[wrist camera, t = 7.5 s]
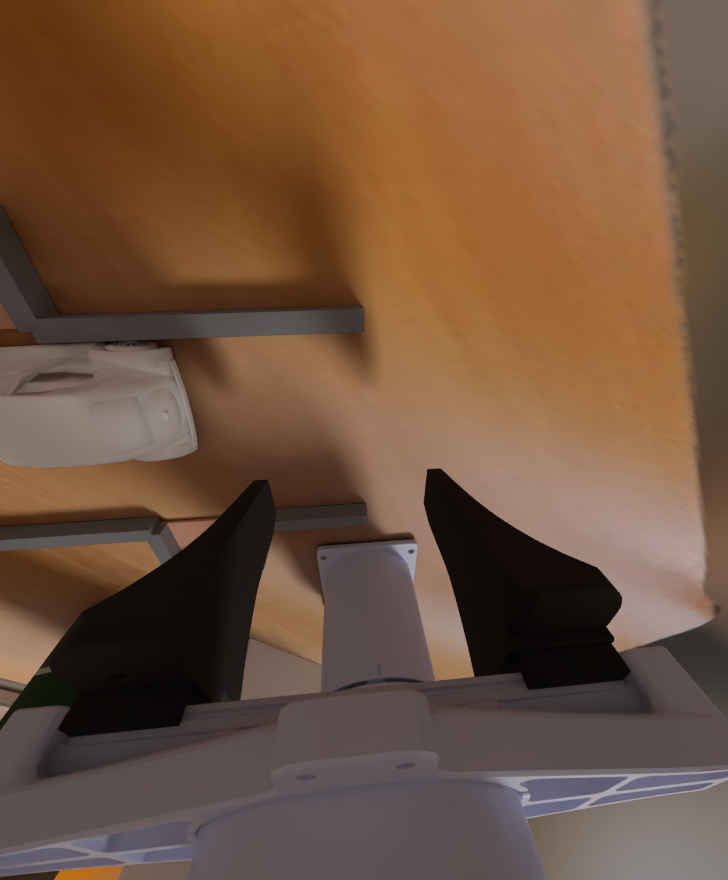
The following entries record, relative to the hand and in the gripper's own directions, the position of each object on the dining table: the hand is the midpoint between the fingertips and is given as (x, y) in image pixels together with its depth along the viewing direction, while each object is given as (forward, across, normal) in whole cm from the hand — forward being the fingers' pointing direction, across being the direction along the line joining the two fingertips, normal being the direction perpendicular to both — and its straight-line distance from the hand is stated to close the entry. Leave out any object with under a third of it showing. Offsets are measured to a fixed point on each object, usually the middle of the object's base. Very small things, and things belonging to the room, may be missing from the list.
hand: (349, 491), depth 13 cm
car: (+6, +14, -3) cm, 16 cm away
